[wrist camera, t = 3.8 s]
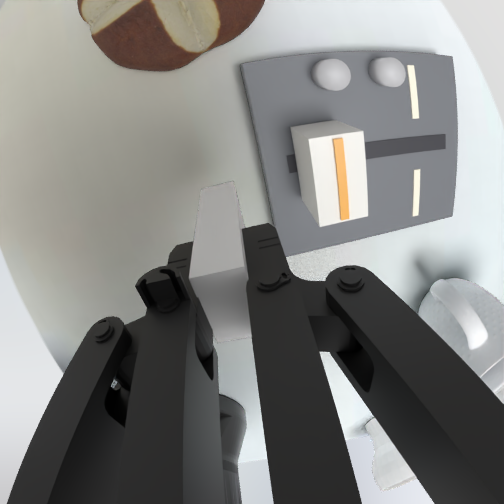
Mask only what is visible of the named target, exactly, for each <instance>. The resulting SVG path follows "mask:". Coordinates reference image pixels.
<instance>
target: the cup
mask: <svg viewBox="0 0 504 504" xmlns="http://www.w3.org/2000/svg"><path fill="white" fill-rule="evenodd" d="M365 428H366V430H367V432H368V434H369V435H370V437H371V439H372V440H373V444H374V450H375V454H374V458H373V470H372V473H373V476H374V480H375V482H376V484H377V485H378V487H379V488H380V490H381V491H382V492H384V491H388V490H391V489H394V488H396V487H399V486H401V485H404V484H406V483H408V482H410V481H412V480H414V479H416V478H417V477H416V476H415V474H414V473H413V472H412V470H411V469H410V467H409V466H408V464H407V463H406V461H405V460H404V459H403V457H402V456H401V454H400V453H399V451H398V450H397V448H396V447H395V446H394V444H393V443H392V441H391V440H390V438H389V437H388V436H387V434H386V433H385V431H384V430H383V428H382V427H381V426H380V424H379V423H378V421H377V420H376V418H373V419H371V420H370V421H369V422H368V423H367V424H366V425H365Z"/></svg>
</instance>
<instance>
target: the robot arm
mask: <svg viewBox="0 0 504 504" xmlns="http://www.w3.org/2000/svg"><path fill="white" fill-rule="evenodd" d="M135 287H136V289H137V291H138V292H139V294H140V296H141V298H142V300H143V302H144V303H145V305H146V307H147V311H146V316H144V317H142V318H140V319H138V320H136V321H133V322H131V323H129V324H126V325H124V323H123V322H122V321H121V320H120V318H118V317H114V316H113V317H106V318H104V319H101V320H99V321H98V322H97V323H95V324H94V325H93V326H92V327H91V328H90V330H89V331H88V333H87V334H86V336H85V338H84V339H83V341H82V343H81V344H80V346H79V348H78V350H77V351H76V353H75V355H74V357H73V358H72V360H71V362H70V364H69V366H68V367H67V369H66V371H65V373H64V375H63V377H62V379H61V380H60V383H59V384H58V386H57V388H56V390H55V392H54V394H53V396H52V398H51V400H50V402H49V404H48V406H47V408H46V410H45V412H44V414H43V416H42V418H41V420H40V423H39V425H38V427H37V429H36V431H35V434H34V436H33V438H32V440H31V442H30V445H29V447H28V449H27V452H26V454H25V456H24V459H23V461H22V464H21V466H20V469H19V471H18V474H17V477H16V480H15V482H14V485H13V488H12V490H11V493H10V497H9V499H8V502H7V504H242V500H241V492H240V483H239V476H238V458H239V454H240V450H241V447H242V443H243V439H244V435H245V432H246V416H245V411H244V409H243V407H242V406H241V405H240V404H238V403H237V402H235V401H234V400H232V399H229V398H227V397H224V396H221V395H219V386H218V357H217V353H216V350H215V348H214V346H213V335H214V337H215V340H216V342H217V343H221V342H227V341H232V340H237V339H242V338H247V337H252V343H253V351H254V359H255V366H256V374H257V382H258V390H259V398H260V405H261V413H262V421H263V428H264V436H265V443H266V451H267V458H268V465H269V472H270V480H271V487H272V494H273V501H274V504H362V502H361V498H360V494H359V490H358V487H357V483H356V479H355V475H354V471H353V467H352V464H351V460H350V456H349V452H348V449H347V445H346V442H345V438H344V434H343V431H342V427H341V424H340V420H339V417H338V413H337V410H336V406H335V403H334V400H333V396H332V393H331V389H330V386H329V383H328V379H327V376H326V373H325V370H324V366H323V363H322V360H321V356H320V353H319V352H330V354H331V356H332V357H333V358H334V360H335V361H336V363H337V364H338V366H339V367H340V368H341V370H342V371H343V373H344V374H345V376H346V377H347V378H348V380H349V381H350V383H351V384H352V386H353V387H354V388H355V390H356V391H357V393H358V394H359V395H360V397H361V398H362V400H363V401H364V403H365V404H366V405H367V407H368V408H369V410H370V411H371V413H372V414H373V415H374V417H375V418H376V420H377V421H378V423H379V424H380V426H381V427H382V428H383V430H384V431H385V433H386V434H387V436H388V437H389V438H390V440H391V441H392V443H393V444H394V446H395V447H396V448H397V450H398V451H399V453H400V454H401V456H402V457H403V459H404V460H405V461H406V463H407V464H408V466H409V467H410V469H411V470H412V472H413V473H414V474H415V476H416V477H417V479H418V480H419V482H420V483H421V484H422V486H423V487H424V489H425V490H426V492H427V493H428V495H429V496H430V498H431V499H432V501H433V502H434V503H435V504H504V404H503V403H502V402H501V401H500V399H499V398H498V397H497V396H496V395H495V394H494V393H493V392H492V390H491V389H490V388H489V387H488V386H487V385H486V384H485V383H484V382H483V381H482V379H481V378H480V377H479V376H478V375H477V374H476V373H475V372H474V371H473V370H472V369H471V368H470V367H469V366H468V365H467V363H466V362H465V361H464V360H463V359H462V358H461V357H460V356H459V355H458V354H457V353H456V352H455V351H454V350H453V349H452V348H451V347H450V346H449V345H448V344H447V343H446V342H445V341H444V340H443V339H442V338H441V337H440V336H439V335H438V334H437V333H436V332H435V331H434V330H433V329H432V328H431V327H430V326H429V325H428V324H427V323H426V322H425V321H424V320H423V319H422V318H421V317H420V316H419V315H418V314H416V313H415V312H414V311H413V310H412V309H411V308H410V307H409V306H408V305H407V304H406V303H405V302H404V301H403V300H402V299H401V298H400V297H398V296H397V295H396V294H395V293H394V292H393V291H392V290H391V289H390V288H389V287H388V286H386V285H385V284H384V283H383V282H382V281H381V280H380V279H379V278H378V277H377V276H375V275H374V274H373V273H372V272H371V271H369V270H367V269H366V268H364V267H360V266H356V265H352V266H343V267H339V268H336V269H335V270H333V271H332V272H330V273H329V275H328V276H327V278H326V281H307V280H303V279H300V278H298V277H296V276H295V275H294V274H293V273H292V272H291V270H290V269H289V266H288V263H287V260H286V257H285V254H284V251H283V248H282V245H281V242H280V239H279V236H278V233H277V230H276V228H275V227H273V226H272V225H270V224H269V223H266V224H261V225H257V226H252V227H248V228H245V224H244V220H243V216H242V212H241V208H240V204H239V200H238V196H237V192H236V188H235V184H234V181H231V182H227V183H223V184H219V185H215V186H210V187H207V188H203V189H201V195H200V201H199V207H198V214H197V221H196V228H195V235H194V241H192V242H188V243H184V244H180V245H176V247H175V248H174V249H173V250H172V252H171V253H170V255H169V259H168V264H167V266H162V267H158V268H155V269H152V270H151V271H149V272H147V273H146V274H144V275H143V276H142V277H141V278H140V279H139V280H138V282H137V284H136V285H135ZM114 379H115V380H116V381H117V382H118V383H117V385H116V386H115V388H112V387H111V384H112V382H113V380H114Z"/></svg>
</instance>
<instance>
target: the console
mask: <svg viewBox="0 0 504 504" xmlns="http://www.w3.org/2000/svg"><path fill="white" fill-rule="evenodd" d="M240 68H241V72H242V77H243V81H244V85H245V90H246V94H247V99H248V103H249V108H250V112H251V117H252V121H253V126H254V130H255V135H256V140H257V144H258V149H259V154H260V159H261V164H262V168H263V173H264V178H265V183H266V188H267V193H268V198H269V203H270V208H271V213H272V218H273V223H274V227H275V228H276V230H277V233H278V236H279V239H280V242H281V245H282V248H283V251H284V254H285V257H288V256H292V255H296V254H301V253H305V252H309V251H313V250H318V249H322V248H326V247H330V246H334V245H339V244H343V243H347V242H351V241H355V240H359V239H363V238H367V237H372V236H376V235H380V234H384V233H388V232H392V231H396V230H400V229H404V228H408V227H412V226H416V225H420V224H424V223H428V222H432V221H436V220H440V219H444V218H448V217H452V215H453V207H454V197H455V186H456V172H457V146H458V123H457V98H456V84H455V74H454V65H453V57H452V56H445V55H437V54H427V53H415V52H398V51H344V52H326V53H313V54H303V55H294V56H286V57H278V58H272V59H265V60H259V61H253V62H248V63H243V64H241V65H240ZM332 120H337V121H340V122H342V123H345V124H347V125H350V126H352V127H355V128H357V129H360V130H362V131H363V133H364V144H365V157H366V172H367V193H368V216H367V217H362V218H358V219H353V220H349V221H344V222H340V223H336V224H331V225H327V226H322V227H319V225H318V224H317V222H316V220H315V219H314V217H313V216H312V214H311V213H310V211H309V210H308V208H307V207H306V205H305V203H304V202H303V200H302V196H301V189H300V183H299V176H298V170H297V164H296V157H295V151H294V145H293V140H292V134H291V128H290V127H293V126H299V125H305V124H312V123H318V122H325V121H332Z"/></svg>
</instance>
